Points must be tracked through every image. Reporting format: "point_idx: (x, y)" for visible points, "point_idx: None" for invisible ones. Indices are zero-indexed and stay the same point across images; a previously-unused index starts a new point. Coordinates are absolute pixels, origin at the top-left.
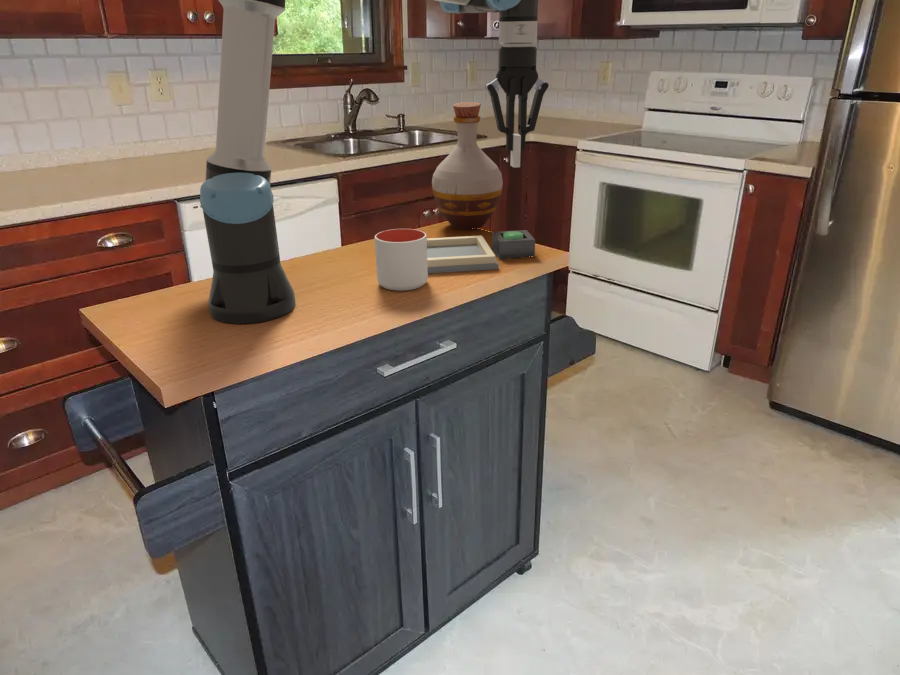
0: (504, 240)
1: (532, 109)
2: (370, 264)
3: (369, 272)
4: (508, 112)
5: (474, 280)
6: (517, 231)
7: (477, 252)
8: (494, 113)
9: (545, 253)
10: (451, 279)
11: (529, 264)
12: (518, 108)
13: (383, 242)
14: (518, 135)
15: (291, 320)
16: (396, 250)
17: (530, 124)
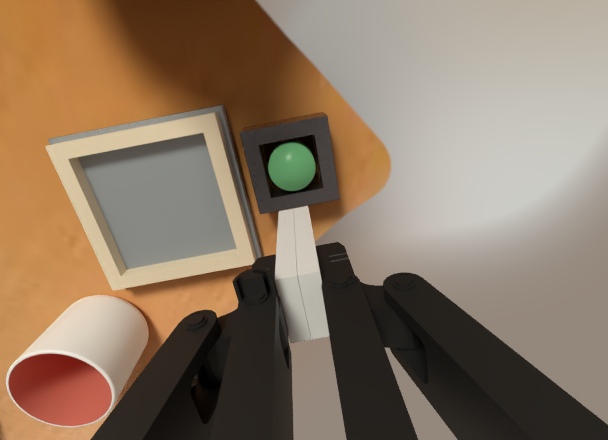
0: (271, 205)
1: (476, 431)
2: (7, 233)
3: (28, 275)
4: None
5: (225, 306)
6: (303, 129)
7: (215, 195)
8: (108, 432)
9: (359, 160)
10: (186, 303)
11: (320, 228)
12: (343, 416)
13: (45, 422)
14: (318, 335)
15: (11, 434)
16: (79, 414)
17: (406, 367)
